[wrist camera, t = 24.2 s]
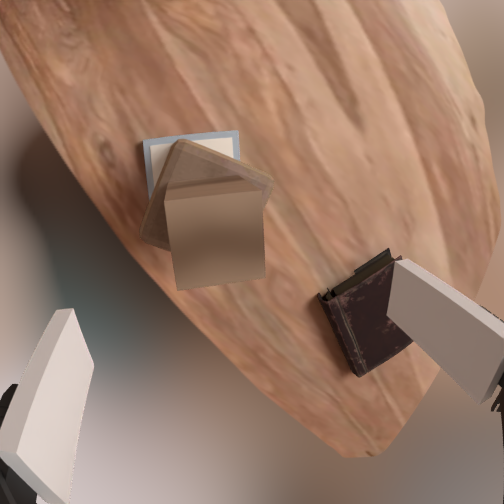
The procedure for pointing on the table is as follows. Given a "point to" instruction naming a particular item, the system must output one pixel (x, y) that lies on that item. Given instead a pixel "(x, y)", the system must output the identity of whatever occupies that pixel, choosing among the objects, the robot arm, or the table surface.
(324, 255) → the table surface
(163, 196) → the block
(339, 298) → the diary
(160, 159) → the board
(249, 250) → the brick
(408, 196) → the table surface
